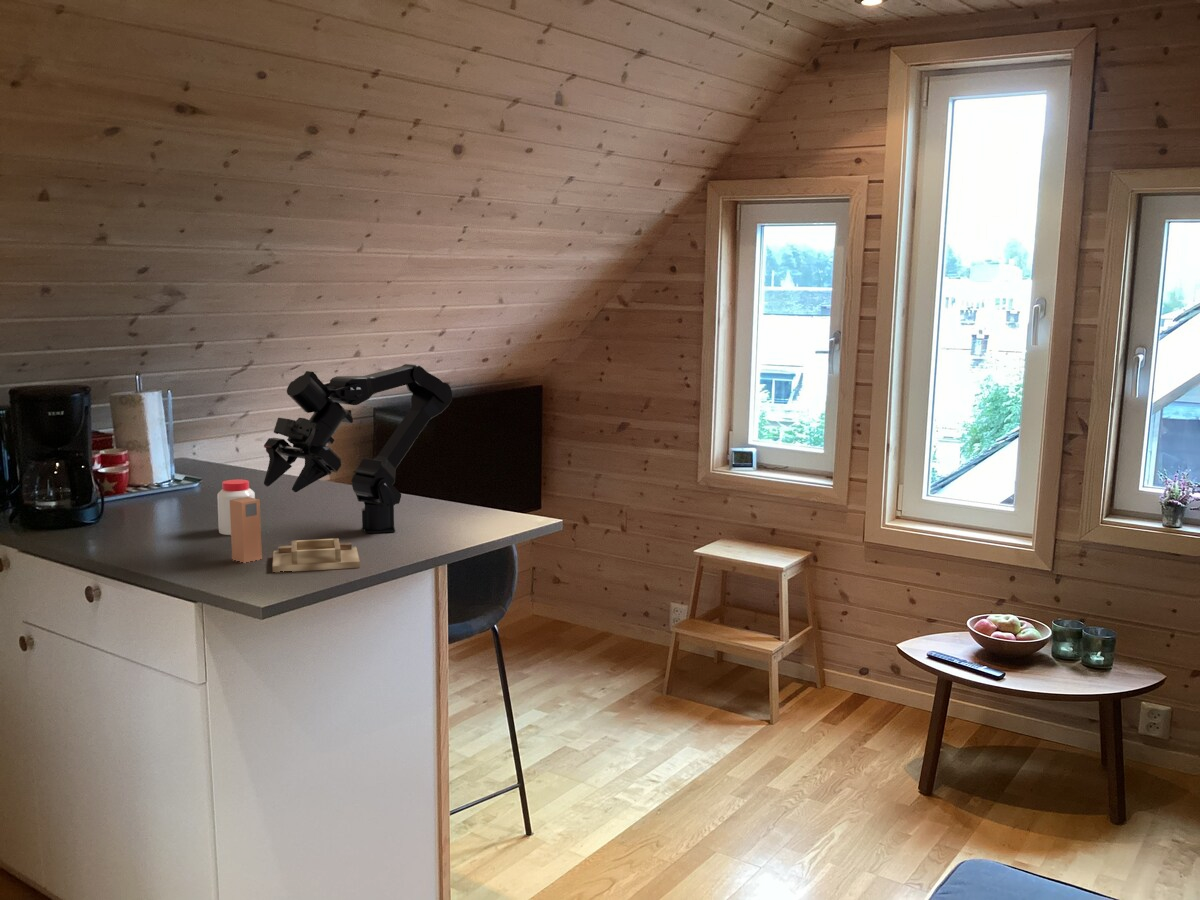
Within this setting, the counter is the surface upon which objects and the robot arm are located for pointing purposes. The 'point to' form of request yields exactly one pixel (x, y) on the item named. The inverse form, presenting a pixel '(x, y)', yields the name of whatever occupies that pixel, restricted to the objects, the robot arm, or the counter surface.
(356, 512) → the counter surface
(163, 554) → the counter surface
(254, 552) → the block
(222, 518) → the pill bottle
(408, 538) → the counter surface
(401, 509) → the counter surface
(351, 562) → the jig
